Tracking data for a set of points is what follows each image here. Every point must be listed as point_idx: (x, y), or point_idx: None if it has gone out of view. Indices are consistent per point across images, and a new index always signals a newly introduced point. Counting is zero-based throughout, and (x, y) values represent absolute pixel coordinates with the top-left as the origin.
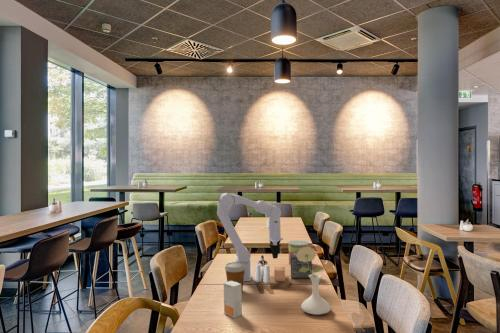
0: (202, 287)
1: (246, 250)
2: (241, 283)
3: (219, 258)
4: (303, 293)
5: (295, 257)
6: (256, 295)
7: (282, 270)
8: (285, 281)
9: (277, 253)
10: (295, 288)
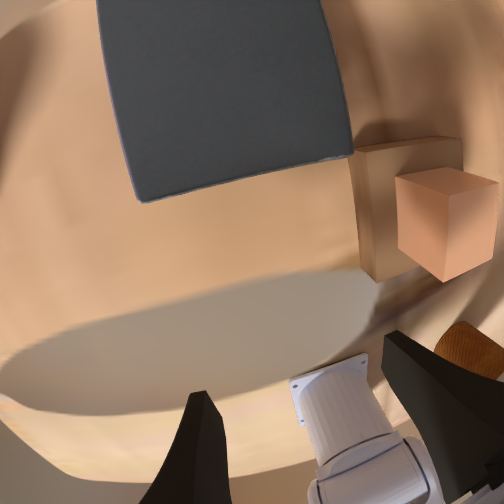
0: (405, 419)
1: (435, 484)
2: (486, 336)
3: (111, 480)
4: (472, 71)
5: (318, 72)
6: (491, 262)
7: (497, 201)
8: (449, 164)
9: (442, 363)
10: (437, 102)
